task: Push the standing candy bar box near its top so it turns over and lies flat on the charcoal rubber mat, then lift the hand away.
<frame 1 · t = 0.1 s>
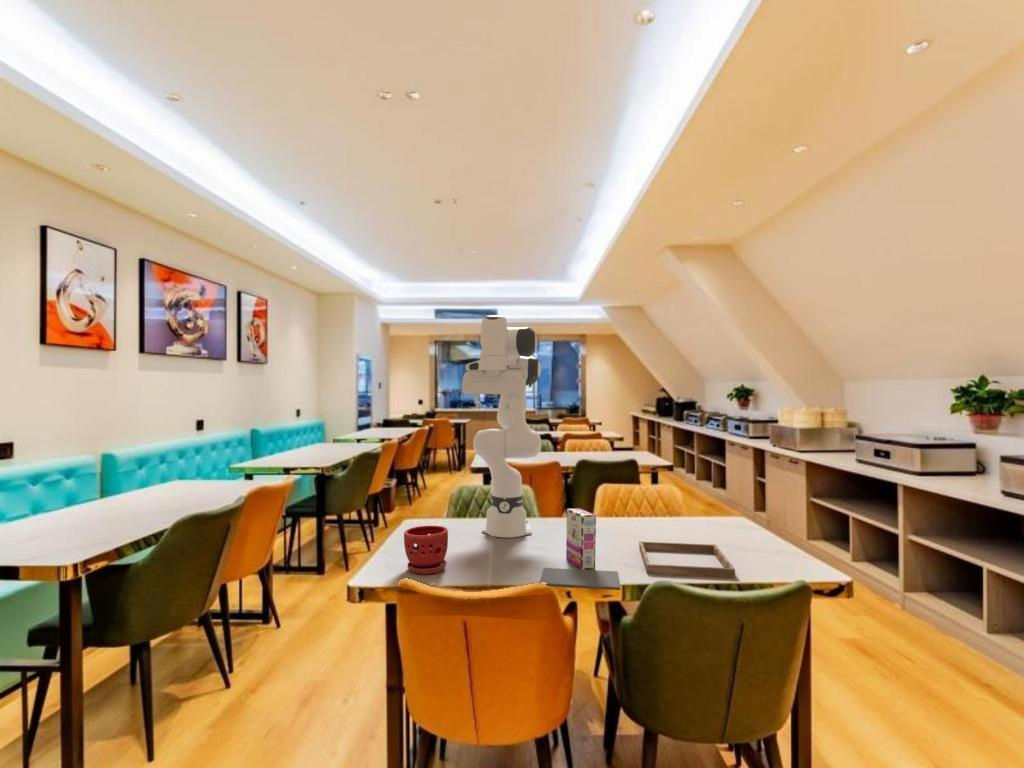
hand: (493, 408, 178), 48 cm above the table, tool pointing down, fingers open, 8 cm apart
plant pot: (425, 570, 167), on the table
mat: (579, 578, 160), on the table
serving tray rim: (683, 562, 175), on the table
candy bar box: (580, 565, 173), on the table
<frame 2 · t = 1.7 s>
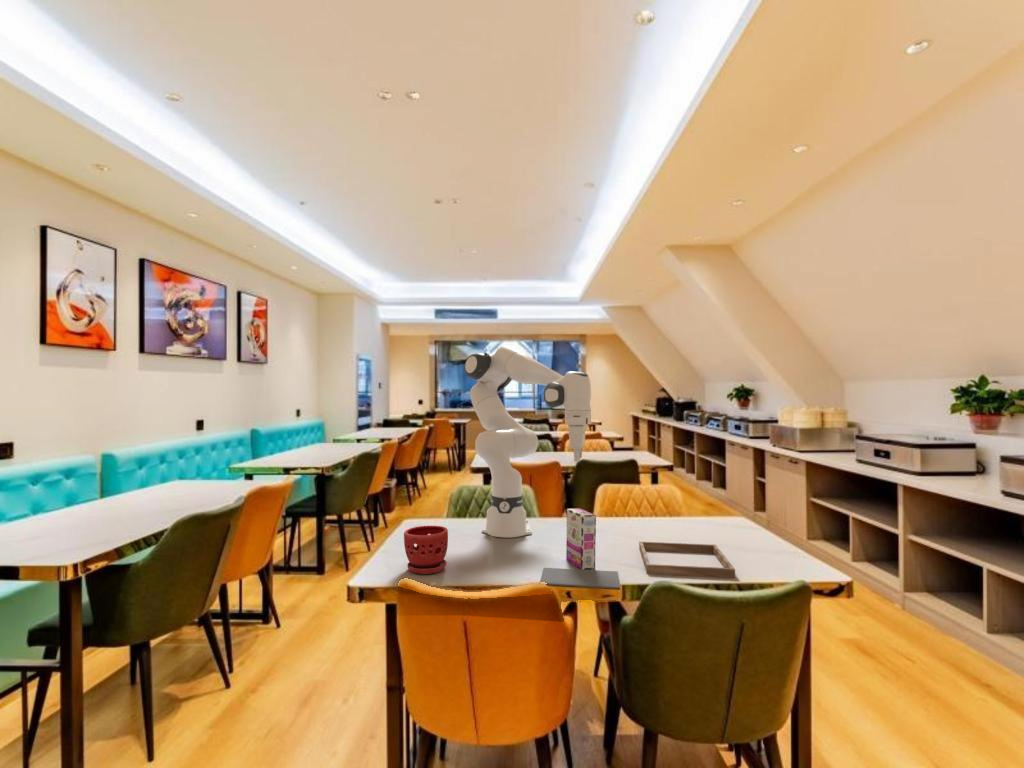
hand: (578, 459, 189), 30 cm above the table, tool pointing down, fingers open, 8 cm apart
nothing on the table moved.
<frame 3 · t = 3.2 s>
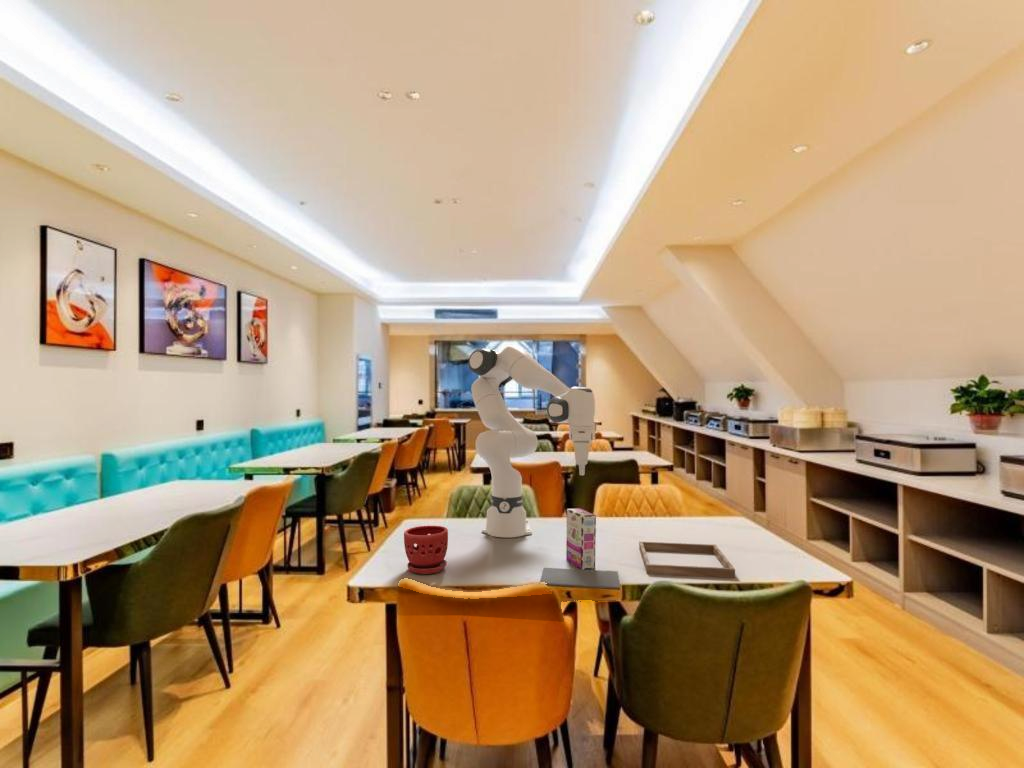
hand: (582, 474, 189), 25 cm above the table, tool pointing down, fingers closed
nothing on the table moved.
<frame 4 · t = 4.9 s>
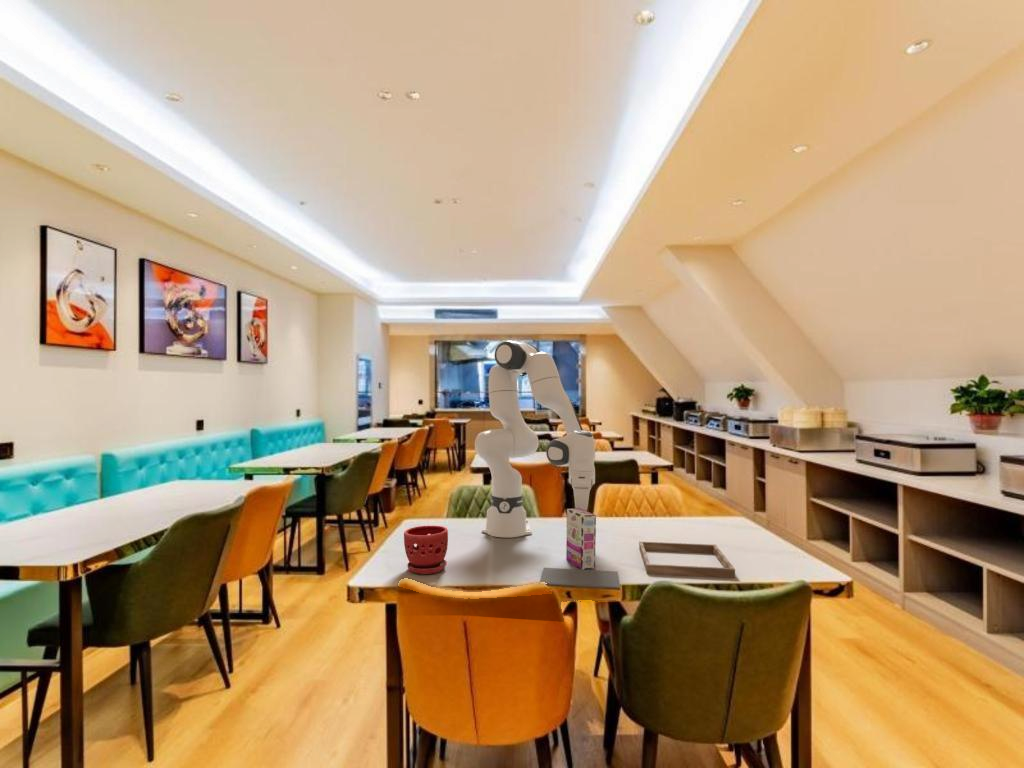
hand: (581, 518, 189), 10 cm above the table, tool pointing down, fingers closed
nothing on the table moved.
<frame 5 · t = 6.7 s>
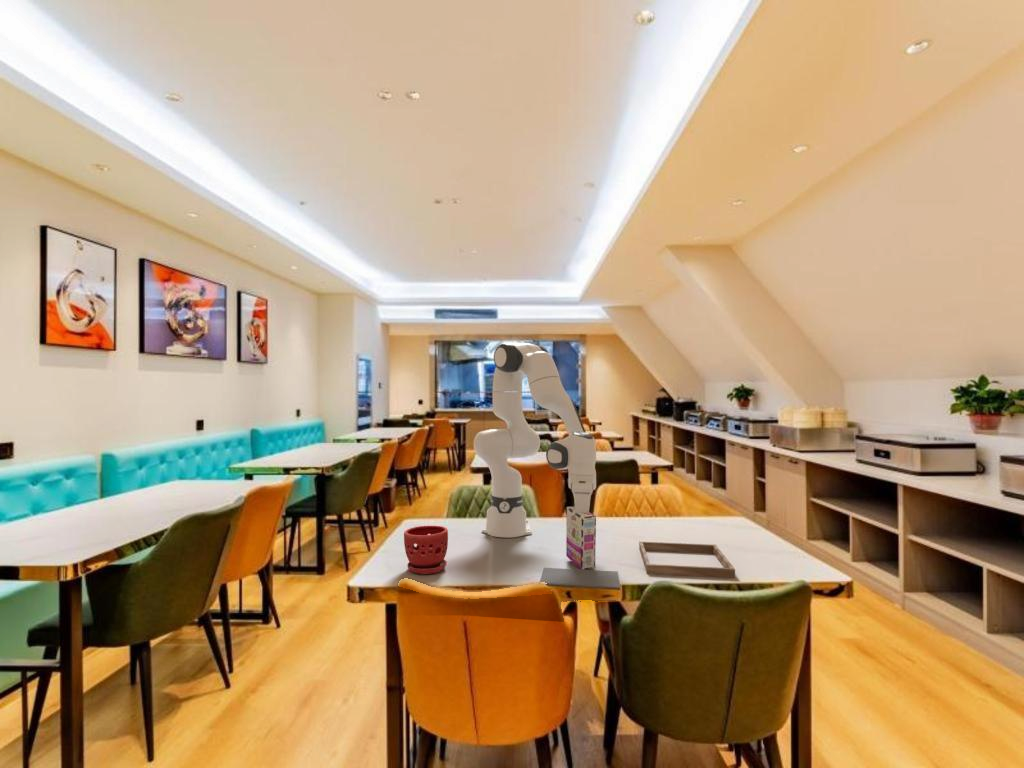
hand: (582, 525, 179), 10 cm above the table, tool pointing down, fingers closed
candy bar box: (580, 562, 173), on the table, touching gripper
everything else where it was.
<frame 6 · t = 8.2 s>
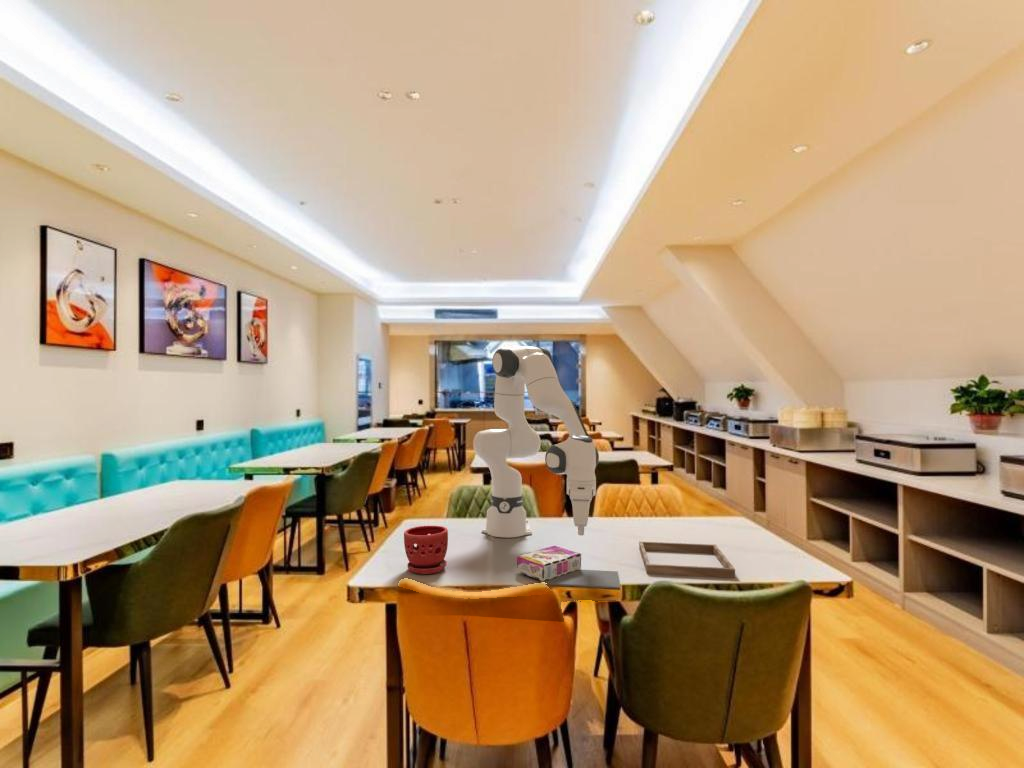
hand: (581, 534, 169), 10 cm above the table, tool pointing down, fingers closed
candy bar box: (568, 556, 171), point 3 cm above the table, touching mat
everything else where it was.
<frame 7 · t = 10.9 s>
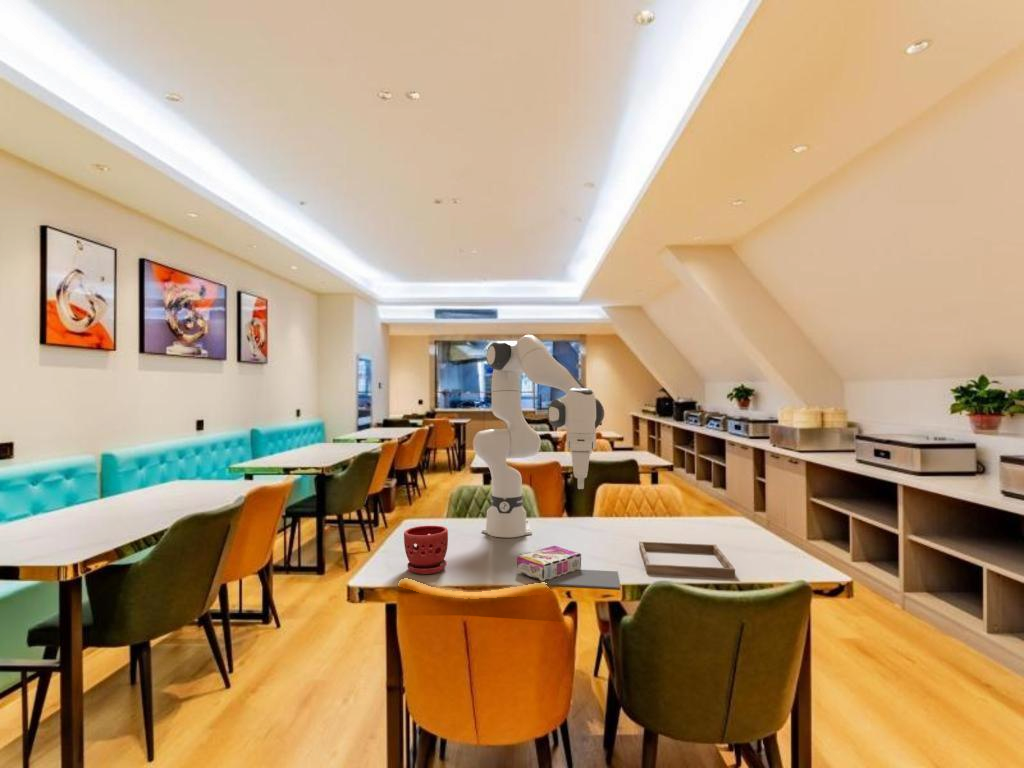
hand: (580, 488, 167), 25 cm above the table, tool pointing down, fingers closed
nothing on the table moved.
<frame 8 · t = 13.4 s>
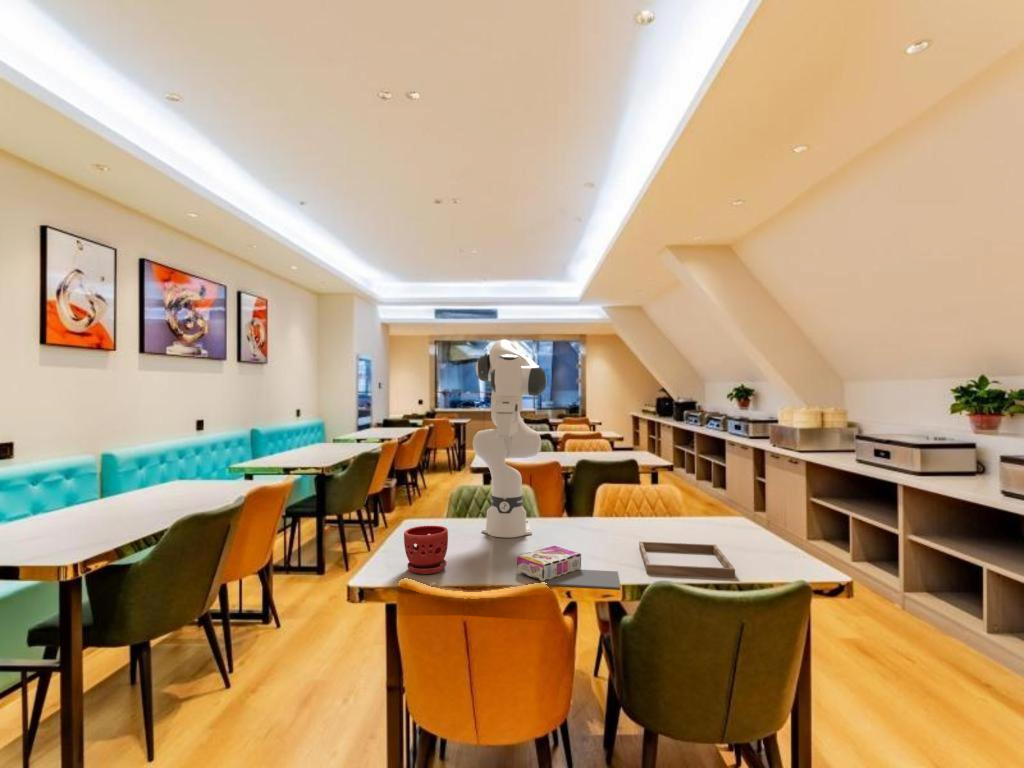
hand: (508, 449, 176), 35 cm above the table, tool pointing down, fingers closed
nothing on the table moved.
at the end: candy bar box tilted 91°; candy bar box touching mat; the gripper is holding nothing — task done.
